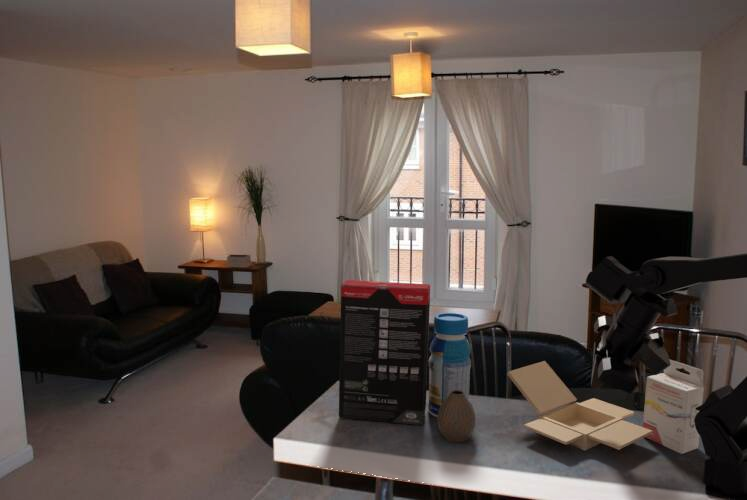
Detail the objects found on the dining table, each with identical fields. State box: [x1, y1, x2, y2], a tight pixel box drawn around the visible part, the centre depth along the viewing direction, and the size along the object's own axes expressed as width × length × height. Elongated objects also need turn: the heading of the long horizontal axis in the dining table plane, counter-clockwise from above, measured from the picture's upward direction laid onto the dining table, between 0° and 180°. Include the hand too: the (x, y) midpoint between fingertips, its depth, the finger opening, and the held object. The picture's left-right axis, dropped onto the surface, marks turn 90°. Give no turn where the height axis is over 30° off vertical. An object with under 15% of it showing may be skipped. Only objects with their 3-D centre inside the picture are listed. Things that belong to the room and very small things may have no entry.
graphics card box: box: [338, 279, 431, 426], centre depth 124 cm, size 17×7×27 cm, turn 82°
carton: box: [523, 397, 652, 452], centre depth 117 cm, size 16×22×3 cm
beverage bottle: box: [427, 312, 472, 419], centre depth 127 cm, size 8×8×20 cm
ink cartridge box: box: [642, 358, 705, 455], centre depth 115 cm, size 9×5×15 cm, turn 29°
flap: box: [506, 360, 578, 416], centre depth 126 cm, size 1×12×10 cm
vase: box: [437, 390, 476, 443], centre depth 116 cm, size 7×7×9 cm
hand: (593, 386), depth 117 cm, fingers closed
